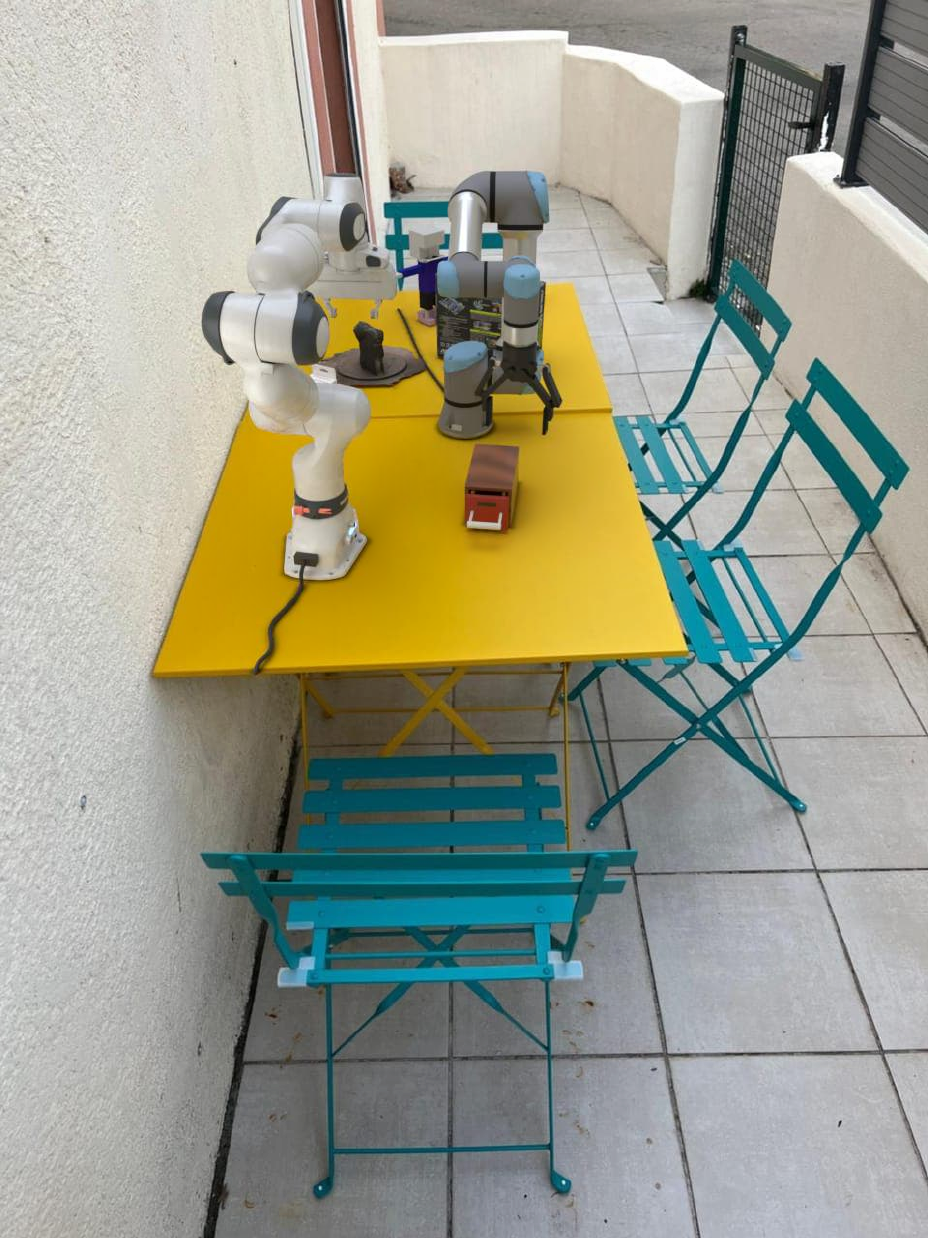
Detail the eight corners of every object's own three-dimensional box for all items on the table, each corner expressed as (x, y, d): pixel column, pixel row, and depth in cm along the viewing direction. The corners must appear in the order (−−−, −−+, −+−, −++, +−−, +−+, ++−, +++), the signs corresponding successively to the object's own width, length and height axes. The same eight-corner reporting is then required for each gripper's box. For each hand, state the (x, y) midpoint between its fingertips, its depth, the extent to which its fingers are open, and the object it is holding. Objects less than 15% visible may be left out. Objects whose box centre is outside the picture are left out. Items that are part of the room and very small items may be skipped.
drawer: (504, 545, 203) (505, 513, 198) (462, 542, 204) (461, 510, 199) (514, 488, 222) (515, 457, 217) (475, 485, 223) (475, 455, 218)
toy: (460, 304, 319) (459, 216, 299) (477, 312, 313) (477, 222, 294) (381, 329, 302) (375, 237, 283) (398, 337, 296) (393, 244, 277)
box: (542, 365, 279) (547, 279, 262) (535, 374, 274) (539, 287, 257) (444, 349, 289) (443, 265, 272) (435, 358, 284) (433, 273, 266)
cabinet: (510, 527, 211) (512, 489, 204) (464, 524, 212) (464, 485, 205) (518, 483, 226) (519, 446, 219) (475, 480, 227) (475, 443, 220)
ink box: (306, 417, 253) (300, 368, 244) (316, 410, 257) (310, 362, 247) (331, 424, 250) (326, 375, 241) (341, 416, 254) (336, 368, 244)
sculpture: (406, 397, 263) (403, 345, 252) (297, 384, 270) (290, 333, 259) (437, 352, 287) (436, 303, 277) (336, 341, 294) (331, 293, 284)
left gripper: (297, 257, 189) (305, 321, 198) (392, 259, 188) (396, 323, 196) (304, 248, 194) (311, 311, 203) (396, 250, 192) (400, 313, 201)
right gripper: (579, 341, 193) (572, 428, 207) (471, 327, 199) (471, 412, 213) (571, 354, 187) (565, 443, 201) (460, 340, 194) (461, 427, 207)
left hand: (353, 317), depth 200 cm, fingers open, 8 cm apart
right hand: (516, 428), depth 207 cm, fingers open, 13 cm apart
